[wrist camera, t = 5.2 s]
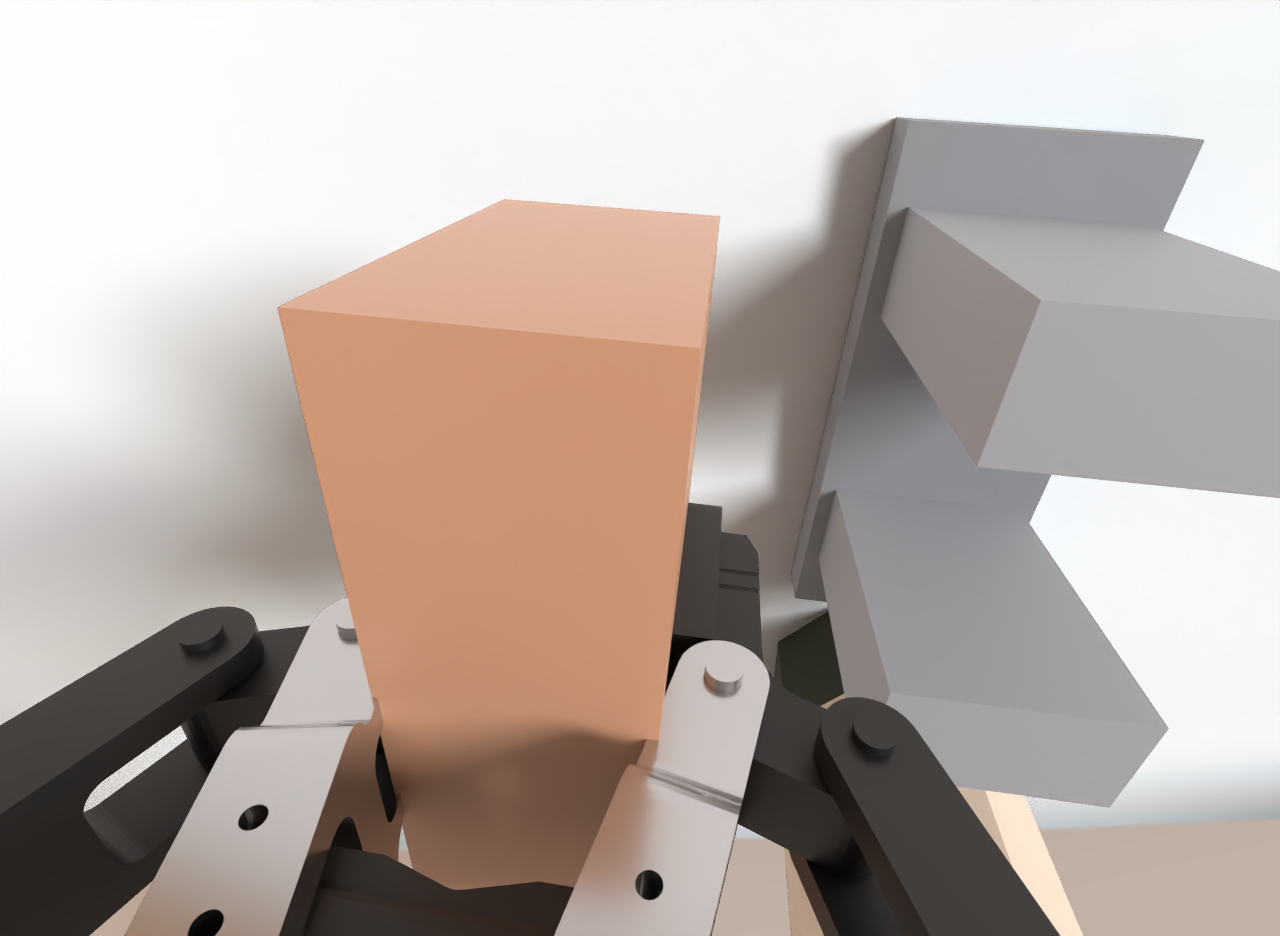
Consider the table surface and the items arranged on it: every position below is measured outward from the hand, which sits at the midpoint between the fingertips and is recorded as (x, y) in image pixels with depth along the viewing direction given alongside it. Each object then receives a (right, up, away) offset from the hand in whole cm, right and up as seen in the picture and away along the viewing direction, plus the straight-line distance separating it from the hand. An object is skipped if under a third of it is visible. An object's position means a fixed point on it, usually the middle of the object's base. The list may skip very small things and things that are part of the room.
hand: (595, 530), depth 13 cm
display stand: (+11, +4, +8) cm, 14 cm away
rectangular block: (0, 0, 0) cm, 1 cm away
